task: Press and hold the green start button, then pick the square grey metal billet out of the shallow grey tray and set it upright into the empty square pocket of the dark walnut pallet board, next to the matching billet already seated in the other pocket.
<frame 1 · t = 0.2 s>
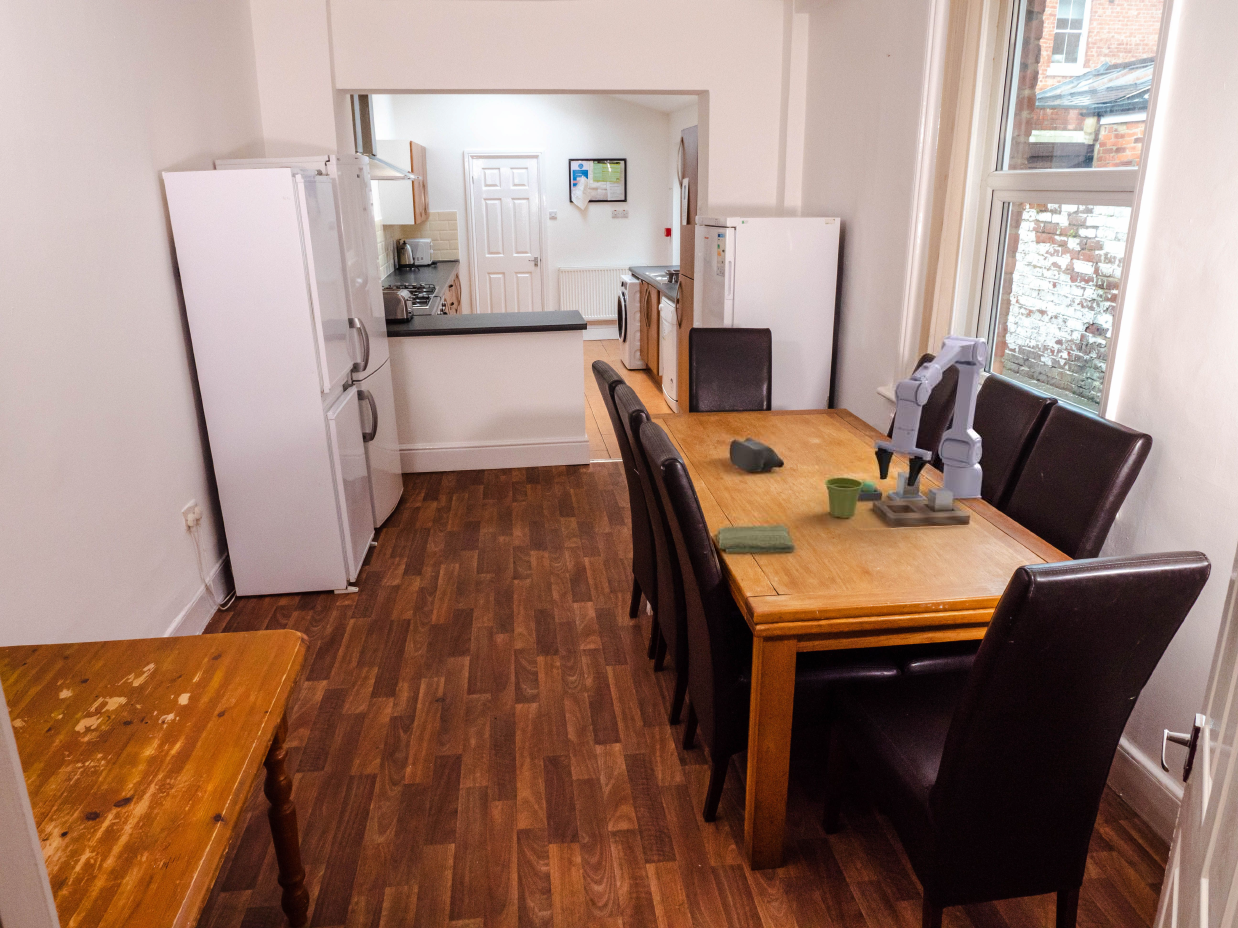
hand: (896, 482, 216), 10 cm above the table, tool pointing down, fingers open, 7 cm apart
plant pot: (841, 515, 225), on the table
start button: (867, 488, 236), point 3 cm above the table, slide at 0.0 cm
washcloth: (754, 546, 207), on the table
billet: (906, 498, 235), resting on shallow grey tray
seated billet: (938, 516, 223), resting in pallet board
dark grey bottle: (755, 467, 267), on the table
button housing: (866, 497, 237), on the table
pallet board: (919, 517, 223), on the table
shallow grey tray: (906, 500, 235), on the table
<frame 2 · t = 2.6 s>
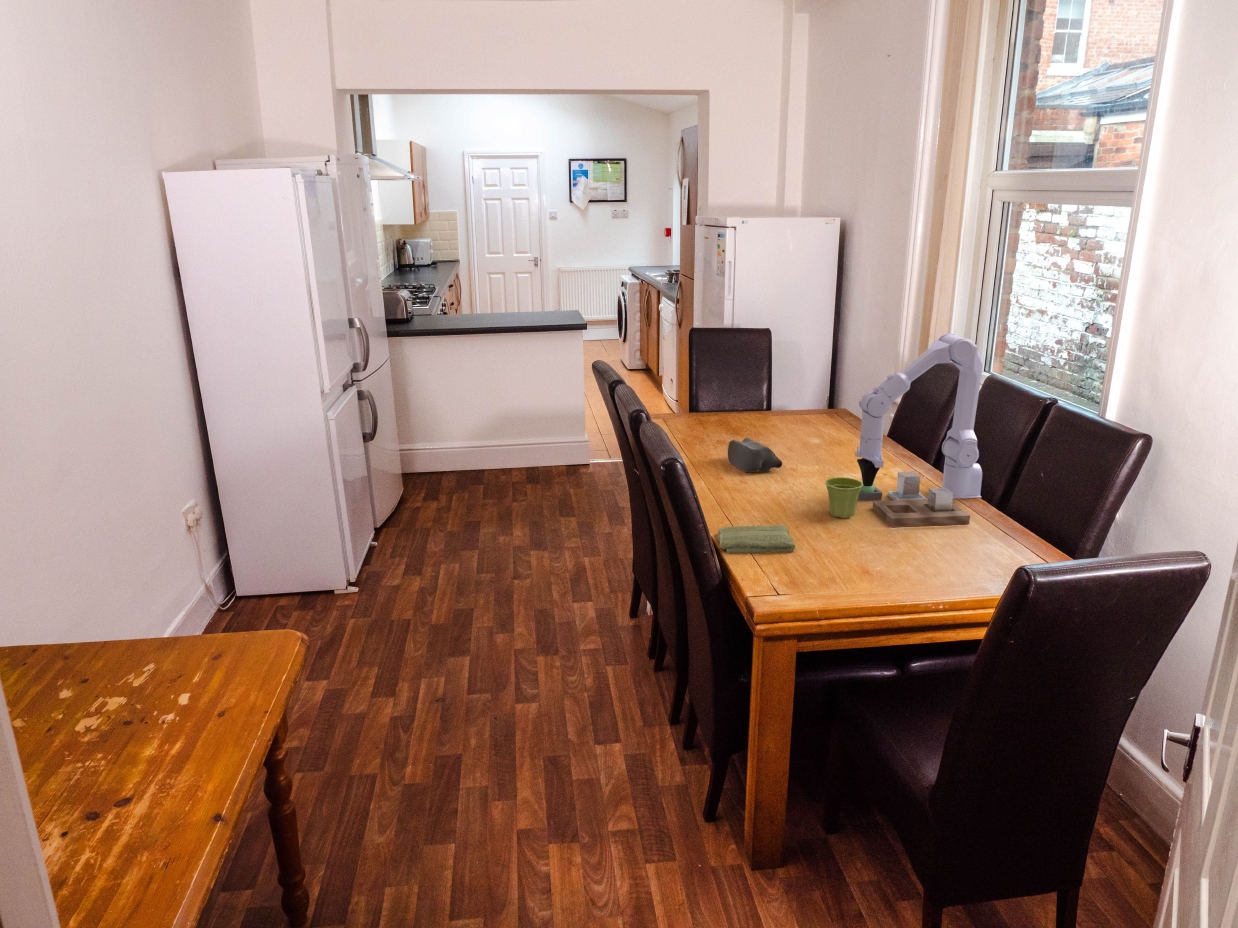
hand: (867, 485, 236), 4 cm above the table, tool pointing down, fingers closed, pressing on start button
start button: (867, 490, 237), point 2 cm above the table, slide at 0.7 cm, touching gripper
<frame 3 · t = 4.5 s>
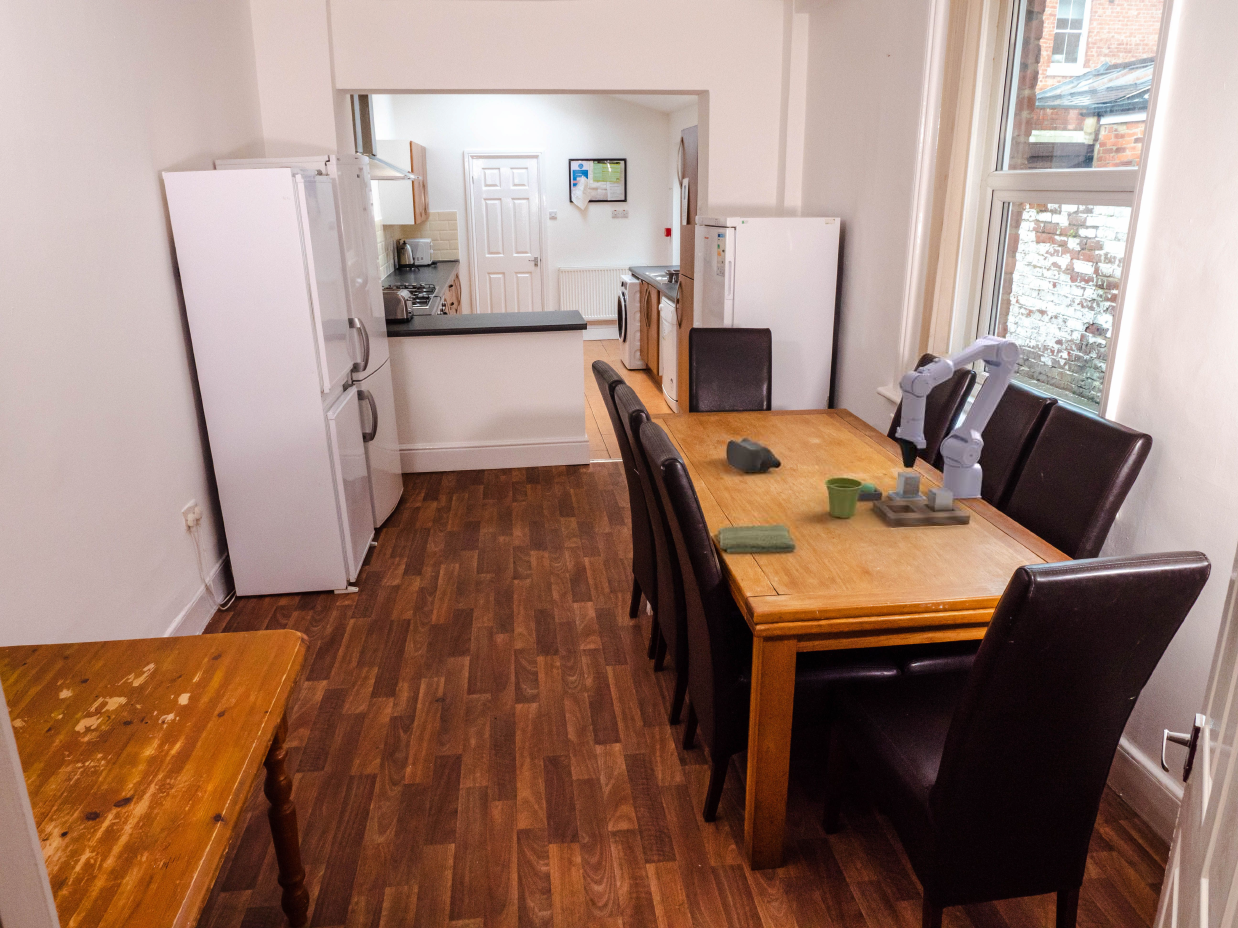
hand: (908, 467, 233), 9 cm above the table, tool pointing down, fingers closed
start button: (867, 490, 237), point 2 cm above the table, slide at 0.6 cm
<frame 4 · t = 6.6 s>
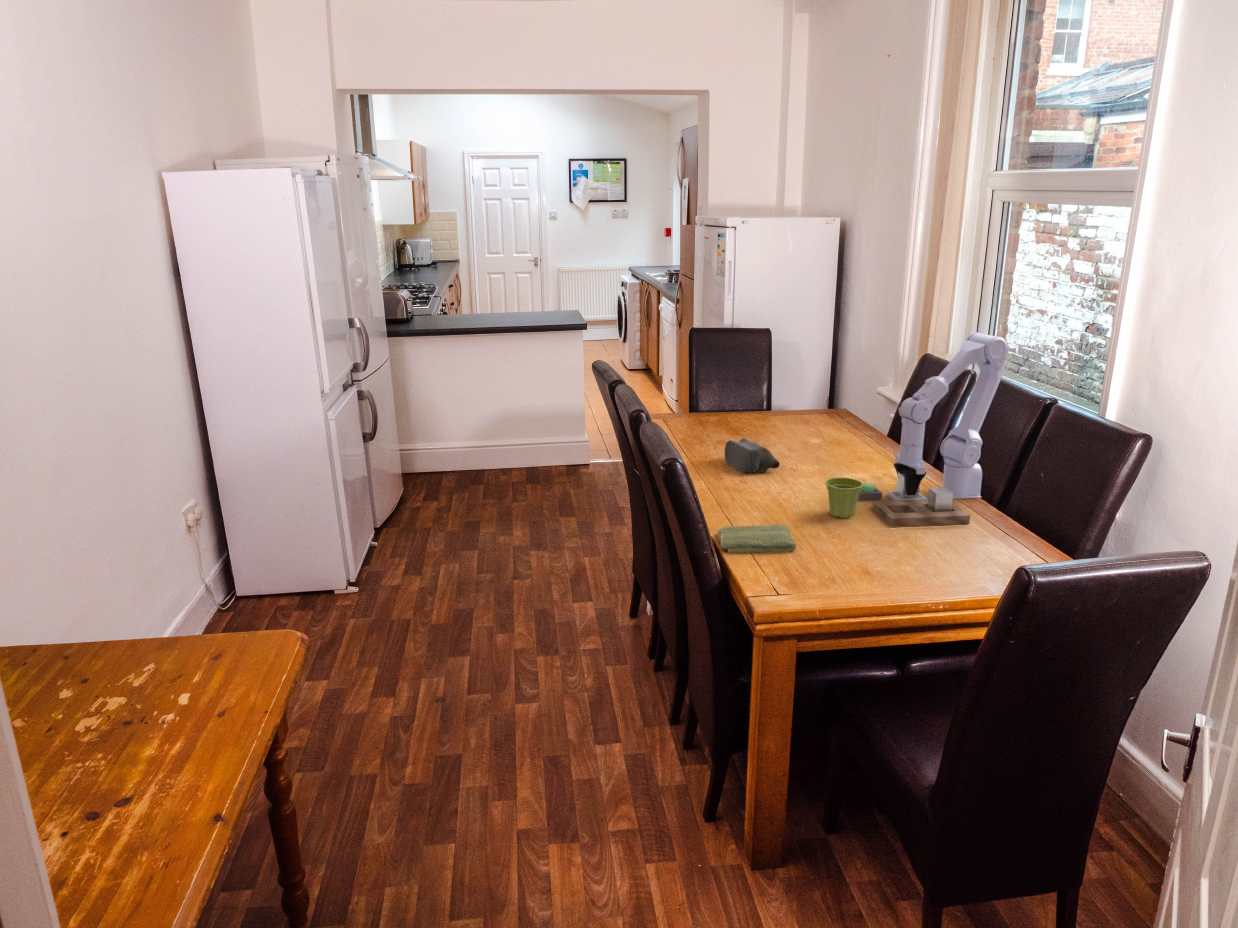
hand: (907, 492, 234), 2 cm above the table, tool pointing down, fingers closed on billet, 4 cm apart
billet: (906, 498, 235), resting on shallow grey tray, touching gripper
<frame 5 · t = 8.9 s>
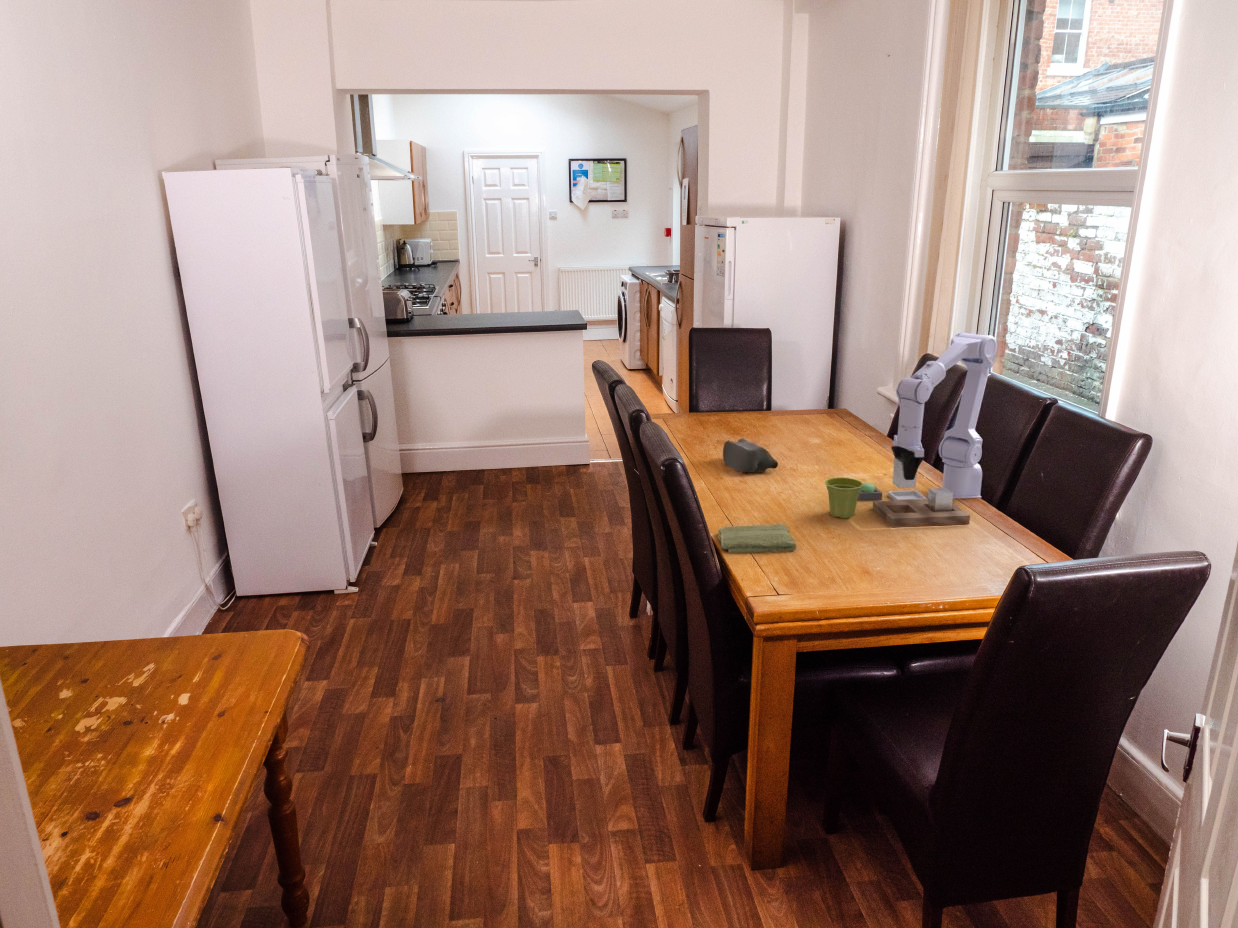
hand: (905, 476, 224), 10 cm above the table, tool pointing down, fingers closed on billet, 4 cm apart
billet: (904, 485, 225), point 7 cm above the table, touching gripper
when the fingers open (3 cm above the table, at t = 11.3 s): billet stays where it is, resting in pallet board.
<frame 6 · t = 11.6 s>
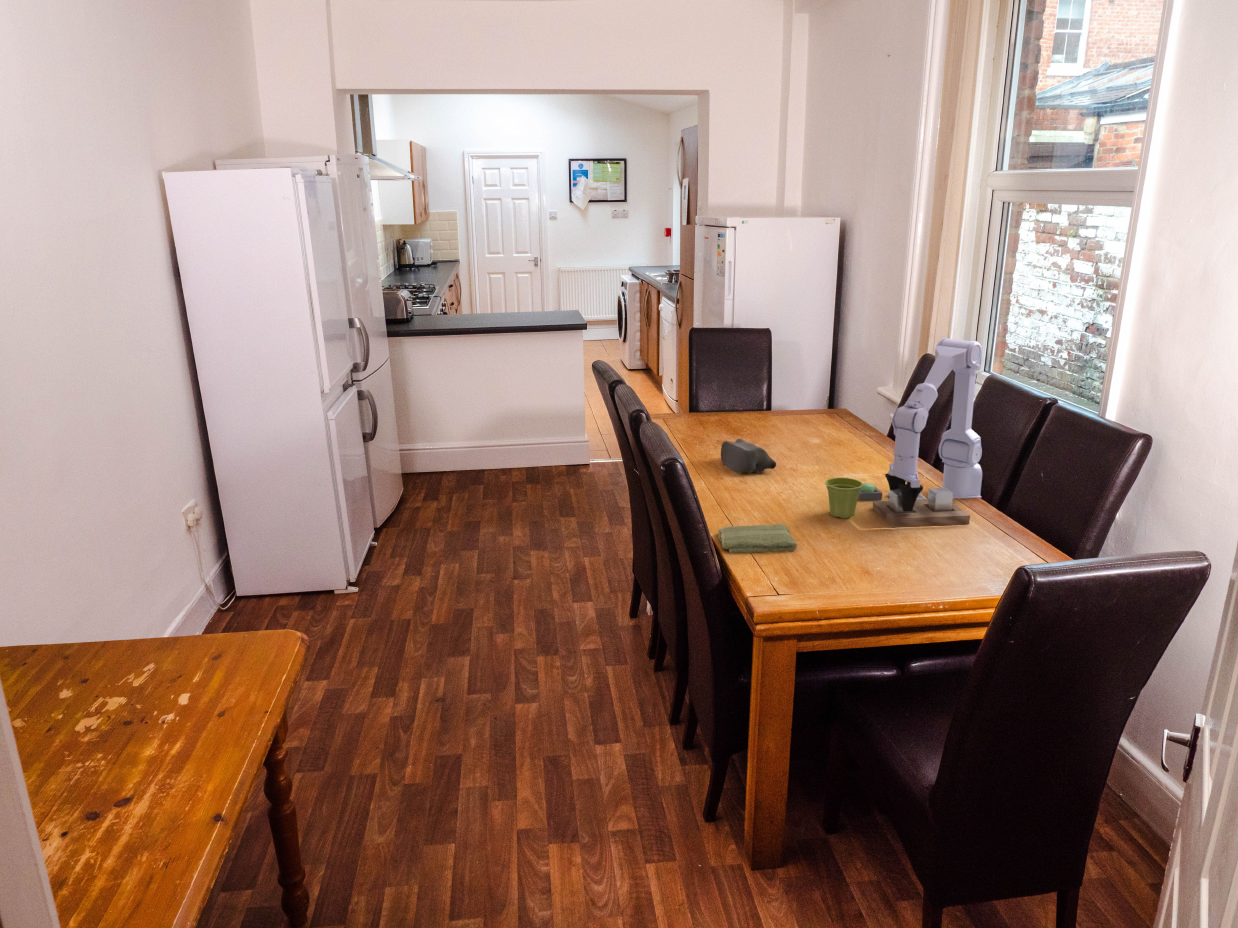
hand: (901, 505, 221), 3 cm above the table, tool pointing down, fingers open, 7 cm apart
billet: (899, 518, 222), resting in pallet board
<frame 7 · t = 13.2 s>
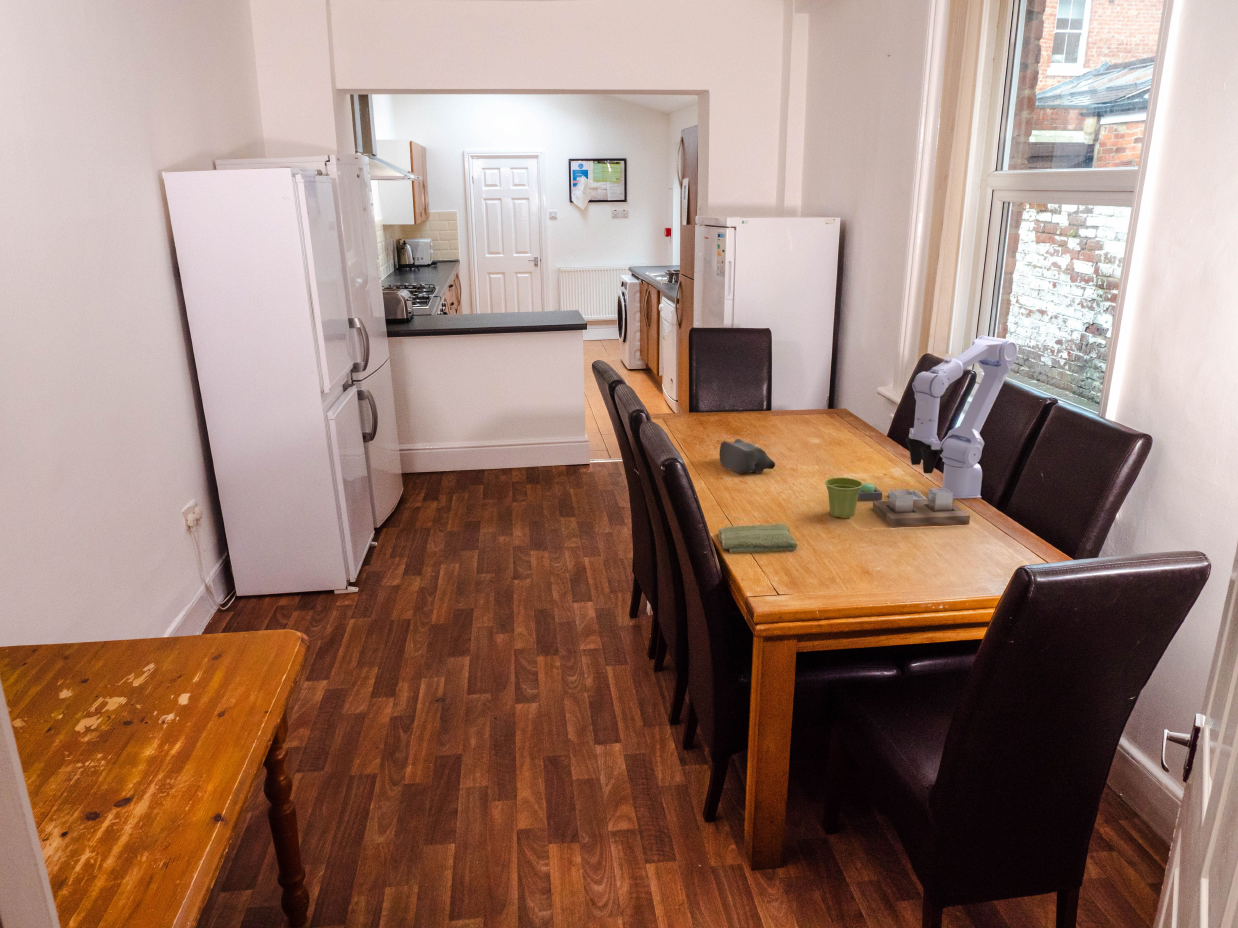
hand: (921, 468, 229), 10 cm above the table, tool pointing down, fingers open, 7 cm apart
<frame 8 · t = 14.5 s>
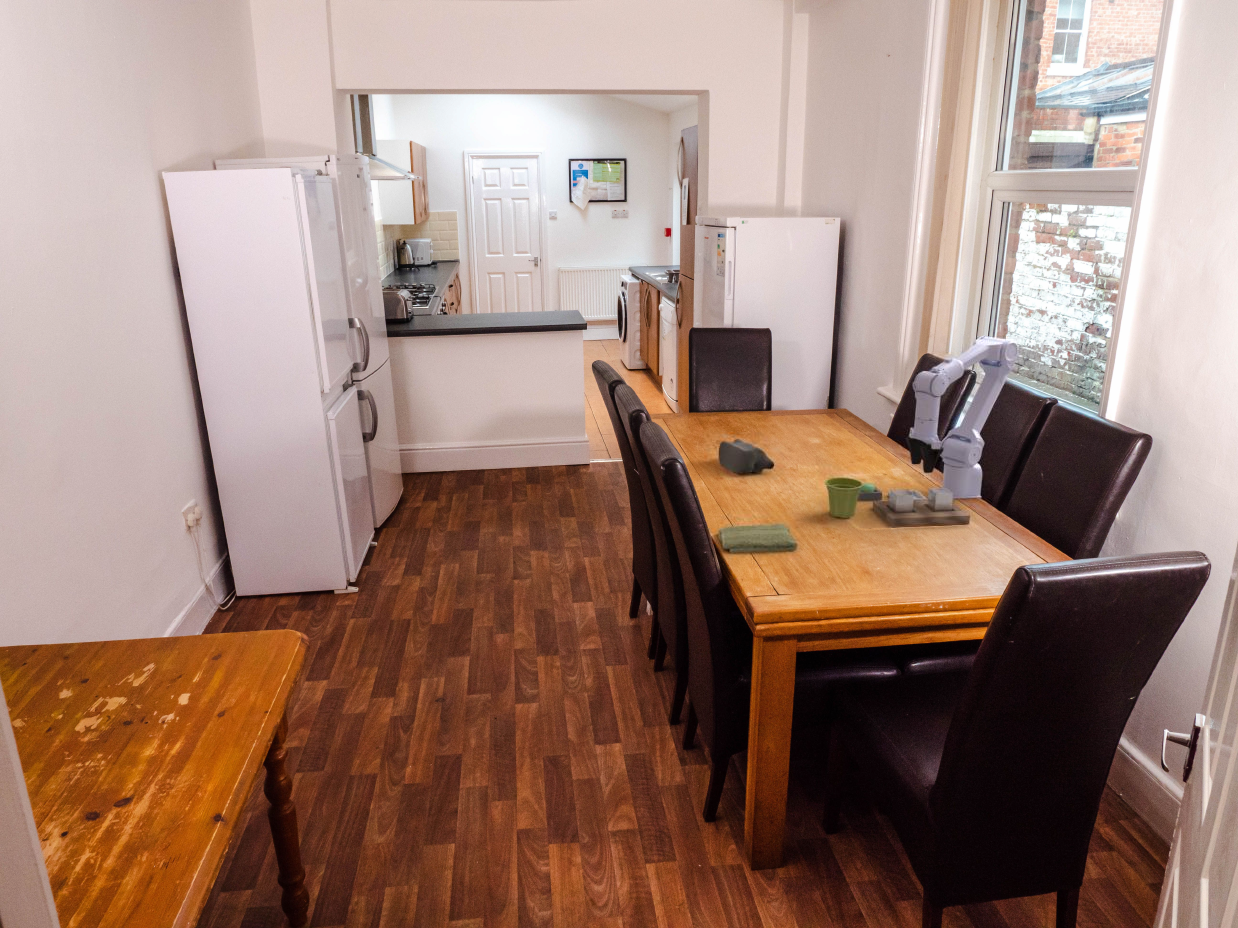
hand: (921, 468, 230), 10 cm above the table, tool pointing down, fingers open, 7 cm apart
at the end: billet 0.2 cm from the target spot on the pallet board, point 0.0 cm above the pallet board's base; billet tilted 0°; seated billet moved 0.1 cm from its start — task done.
